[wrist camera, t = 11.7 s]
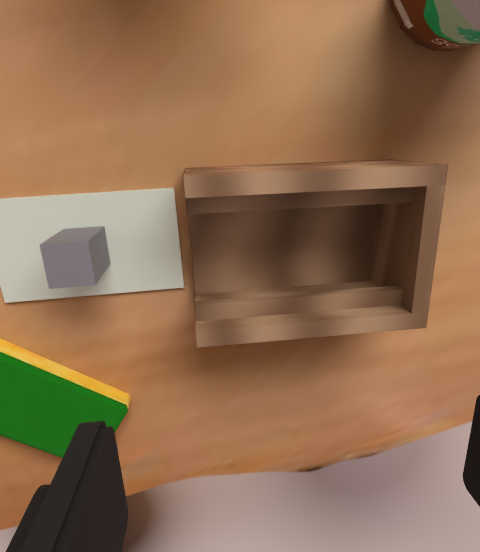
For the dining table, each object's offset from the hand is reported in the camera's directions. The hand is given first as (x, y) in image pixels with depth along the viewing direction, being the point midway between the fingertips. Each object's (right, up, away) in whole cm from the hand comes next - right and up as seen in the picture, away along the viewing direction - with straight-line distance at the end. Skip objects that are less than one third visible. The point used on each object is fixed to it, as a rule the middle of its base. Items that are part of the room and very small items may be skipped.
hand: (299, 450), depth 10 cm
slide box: (+3, +8, +22) cm, 24 cm away
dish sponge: (-19, -6, +25) cm, 32 cm away
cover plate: (-13, +7, +21) cm, 26 cm away
